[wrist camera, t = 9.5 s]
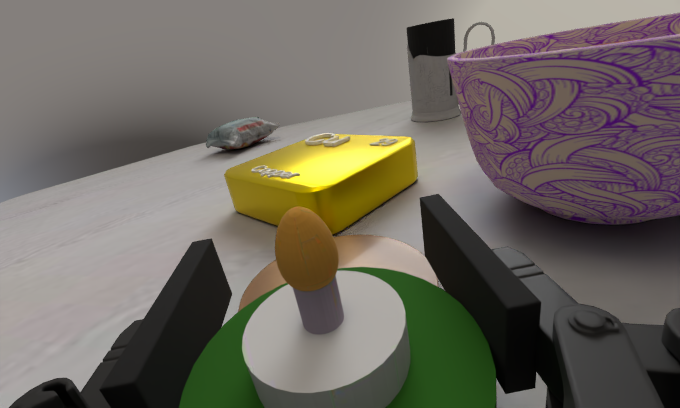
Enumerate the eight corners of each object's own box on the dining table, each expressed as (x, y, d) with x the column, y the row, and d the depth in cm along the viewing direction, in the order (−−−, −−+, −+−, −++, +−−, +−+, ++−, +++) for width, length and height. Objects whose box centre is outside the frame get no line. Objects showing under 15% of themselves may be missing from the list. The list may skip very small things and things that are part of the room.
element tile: (228, 210, 37) (214, 168, 35) (326, 164, 46) (319, 129, 44) (324, 244, 27) (311, 187, 25) (426, 176, 36) (422, 131, 34)
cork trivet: (356, 224, 29) (355, 219, 29) (484, 286, 19) (484, 279, 19) (215, 293, 23) (213, 287, 23) (299, 427, 14) (296, 419, 14)
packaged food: (282, 136, 69) (276, 111, 67) (235, 156, 60) (226, 128, 58) (253, 137, 74) (247, 114, 72) (207, 155, 66) (198, 129, 64)
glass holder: (421, 111, 68) (414, 27, 62) (499, 106, 60) (500, 9, 54) (403, 122, 62) (393, 29, 56) (488, 119, 54) (487, 10, 48)
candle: (566, 623, 8) (635, 271, 4) (214, 719, 8) (-74, 433, 4) (434, 351, 16) (415, 135, 12) (254, 393, 15) (171, 185, 11)
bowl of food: (530, 147, 39) (536, 33, 34) (834, 179, 23) (920, -24, 18) (403, 214, 29) (386, 69, 25) (773, 348, 13) (920, 12, 9)
